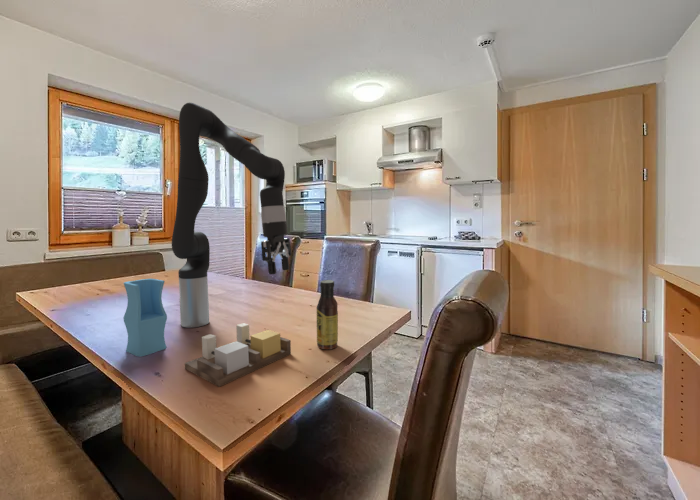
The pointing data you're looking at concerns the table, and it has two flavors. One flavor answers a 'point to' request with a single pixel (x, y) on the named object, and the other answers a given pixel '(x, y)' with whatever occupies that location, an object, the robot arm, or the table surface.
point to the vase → (145, 317)
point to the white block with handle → (225, 354)
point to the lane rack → (218, 378)
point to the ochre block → (259, 340)
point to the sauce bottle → (327, 317)
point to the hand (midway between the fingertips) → (279, 271)
